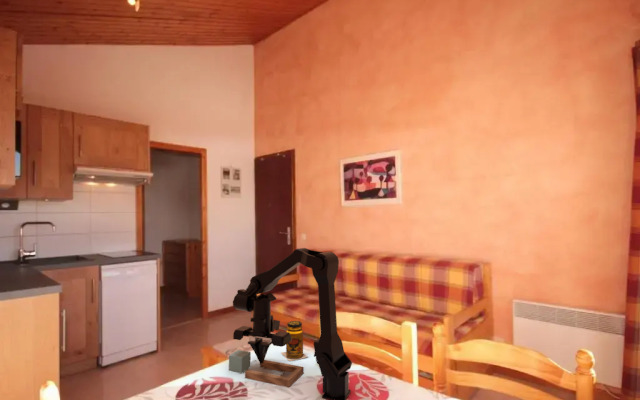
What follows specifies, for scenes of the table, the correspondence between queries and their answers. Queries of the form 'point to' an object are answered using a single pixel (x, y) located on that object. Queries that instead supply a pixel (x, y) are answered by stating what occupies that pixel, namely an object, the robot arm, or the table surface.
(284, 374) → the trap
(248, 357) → the block
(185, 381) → the table surface
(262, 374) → the channel
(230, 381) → the table surface
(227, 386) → the table surface
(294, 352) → the condiment
